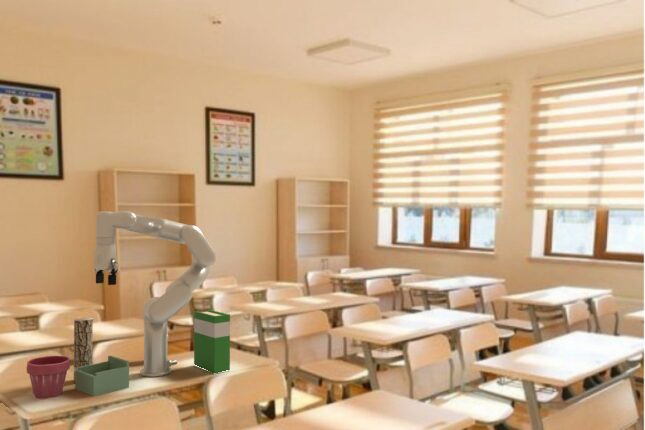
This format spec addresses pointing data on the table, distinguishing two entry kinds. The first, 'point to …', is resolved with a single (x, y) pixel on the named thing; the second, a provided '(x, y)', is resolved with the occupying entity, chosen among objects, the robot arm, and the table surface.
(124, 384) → the open box
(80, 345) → the wooden log
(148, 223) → the robot arm
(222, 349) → the green cereal box
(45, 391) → the plant pot
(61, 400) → the table surface
